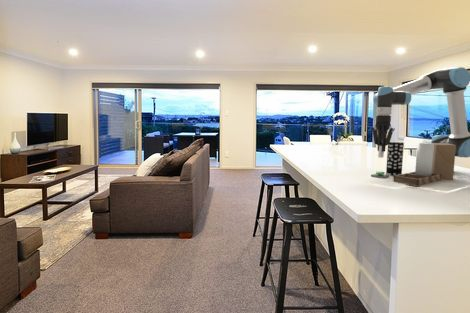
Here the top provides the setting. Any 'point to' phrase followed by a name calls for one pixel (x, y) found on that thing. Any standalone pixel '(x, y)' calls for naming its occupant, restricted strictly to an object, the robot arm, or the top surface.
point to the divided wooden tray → (416, 179)
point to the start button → (380, 172)
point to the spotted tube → (394, 158)
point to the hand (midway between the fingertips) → (380, 157)
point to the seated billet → (424, 159)
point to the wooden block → (444, 160)
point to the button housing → (379, 176)
